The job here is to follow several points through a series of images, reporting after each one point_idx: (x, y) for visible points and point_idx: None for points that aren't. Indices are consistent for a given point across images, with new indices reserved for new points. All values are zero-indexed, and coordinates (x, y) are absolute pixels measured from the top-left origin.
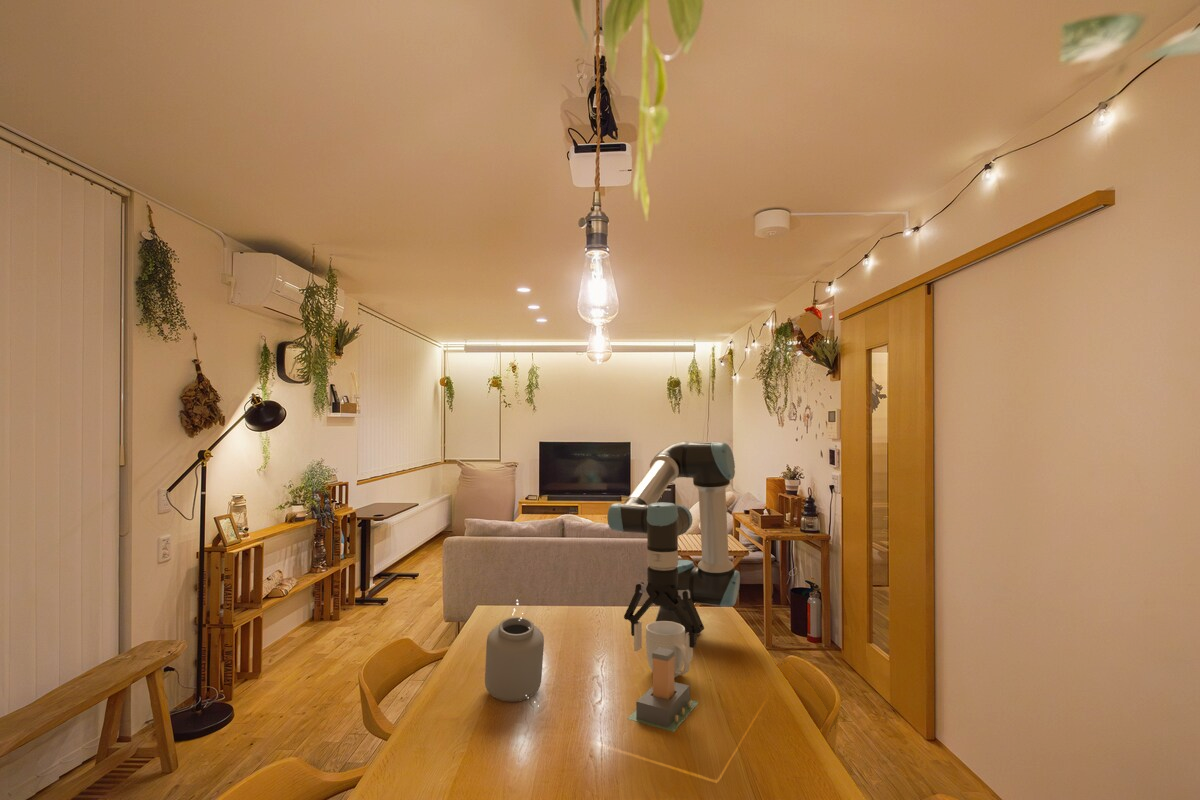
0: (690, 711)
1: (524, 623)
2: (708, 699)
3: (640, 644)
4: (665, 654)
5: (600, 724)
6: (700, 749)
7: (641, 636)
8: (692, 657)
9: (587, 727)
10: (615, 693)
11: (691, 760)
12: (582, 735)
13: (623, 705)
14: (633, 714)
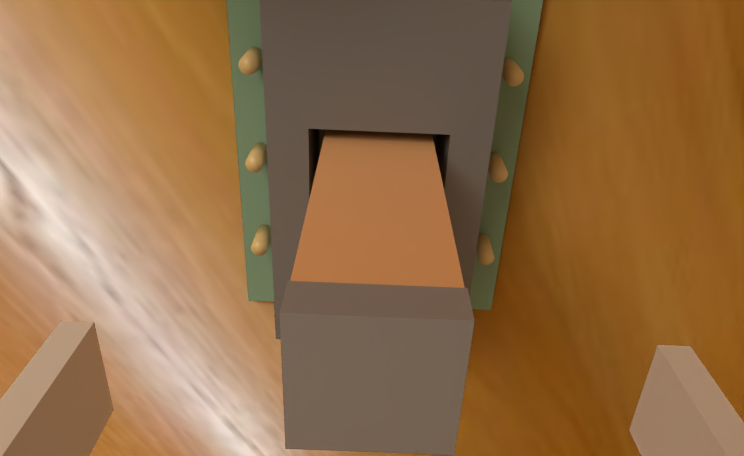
0: (522, 102)
1: None
2: None
3: (78, 380)
4: (418, 431)
5: (168, 359)
6: (620, 352)
7: (30, 423)
8: (695, 365)
9: (139, 393)
10: (18, 71)
11: (595, 417)
12: (161, 438)
13: (150, 178)
14: (255, 258)
